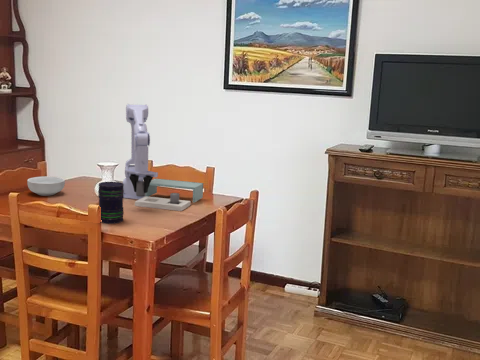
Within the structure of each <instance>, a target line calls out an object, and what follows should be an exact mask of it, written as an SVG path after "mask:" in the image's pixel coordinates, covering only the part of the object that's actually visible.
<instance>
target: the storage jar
mask: <svg viewBox="0 0 480 360" xmlns="http://www.w3.org/2000/svg"><path fill="white" fill-rule="evenodd" d="M123 186H124V184H123V182H119V181H102V182H99V183H98V190H97V191H98V192H97V193H98V207H99V206H100V207H101V220H102V223H101V224H107V225H110V224H111V225H112V224H119V223H122V222H124V215H125V214H124V213H125V212H124V211H125V210H124V207H123V206H124V203H123V202H124V198H123V196H124V195H123V193H124V190H123V189H124V188H123Z"/></svg>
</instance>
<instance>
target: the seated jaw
mask: <svg viewBox="0 0 480 360" xmlns="http://www.w3.org/2000/svg"><path fill="white" fill-rule="evenodd" d="M169 199H170V204H179V200H180V193H178V192H172V193H171V192H170V197H169Z"/></svg>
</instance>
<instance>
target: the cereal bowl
mask: <svg viewBox="0 0 480 360" xmlns="http://www.w3.org/2000/svg"><path fill="white" fill-rule="evenodd" d="M65 184H66V180H65V178H64V177H61V176H50V175H48V176H45V175H44V176H35V177H30V178H28V179H27V187H28V189H29V190H30V191H31V192H32V193H35V194H37V195H38V196H45V197H47V196H49V197H50V196H54V195H56V194H57V193H59V192H61V191H62V190H63V189H64V188H65V186H66V185H65Z"/></svg>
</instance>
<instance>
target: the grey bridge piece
mask: <svg viewBox="0 0 480 360" xmlns="http://www.w3.org/2000/svg"><path fill="white" fill-rule="evenodd" d="M158 187H162V188H163V187H165V188H173V189H182V190H183V189H184V190H192V203H196V202H198V201H200V200H201V199H203V198H204V197H203V196H204V182H194V181H184V180H176V179H164V178H157V177H154V178H153V179H152V180H151V182H150V185H149V188H148V192H147V193H146V196H148V197H152V196H153V195H155V194H158Z"/></svg>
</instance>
